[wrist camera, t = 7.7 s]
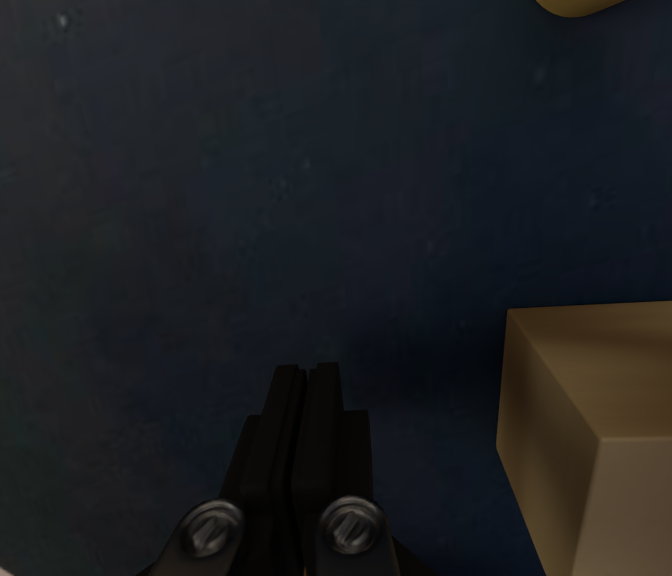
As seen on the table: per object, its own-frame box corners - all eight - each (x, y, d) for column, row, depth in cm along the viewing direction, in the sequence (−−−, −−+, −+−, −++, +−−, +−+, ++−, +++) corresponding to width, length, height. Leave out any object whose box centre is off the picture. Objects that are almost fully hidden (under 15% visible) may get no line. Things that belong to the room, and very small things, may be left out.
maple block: (495, 446, 14) (563, 621, 9) (506, 307, 12) (600, 439, 7) (659, 443, 13) (819, 625, 8) (700, 298, 11) (937, 432, 7)
